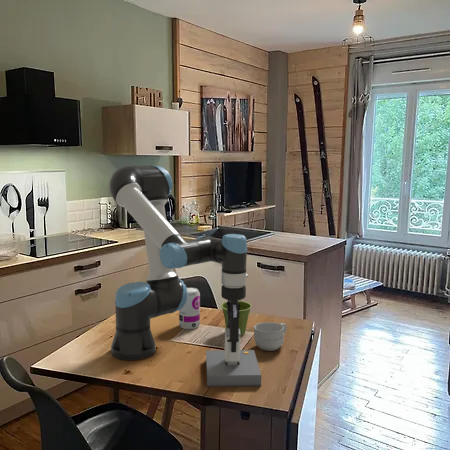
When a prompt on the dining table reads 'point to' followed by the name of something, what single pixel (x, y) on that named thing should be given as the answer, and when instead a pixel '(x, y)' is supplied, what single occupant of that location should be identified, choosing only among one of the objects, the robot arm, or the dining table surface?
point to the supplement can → (190, 310)
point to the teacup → (269, 335)
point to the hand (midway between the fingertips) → (232, 356)
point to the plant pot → (243, 315)
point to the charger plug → (227, 337)
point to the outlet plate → (232, 370)
